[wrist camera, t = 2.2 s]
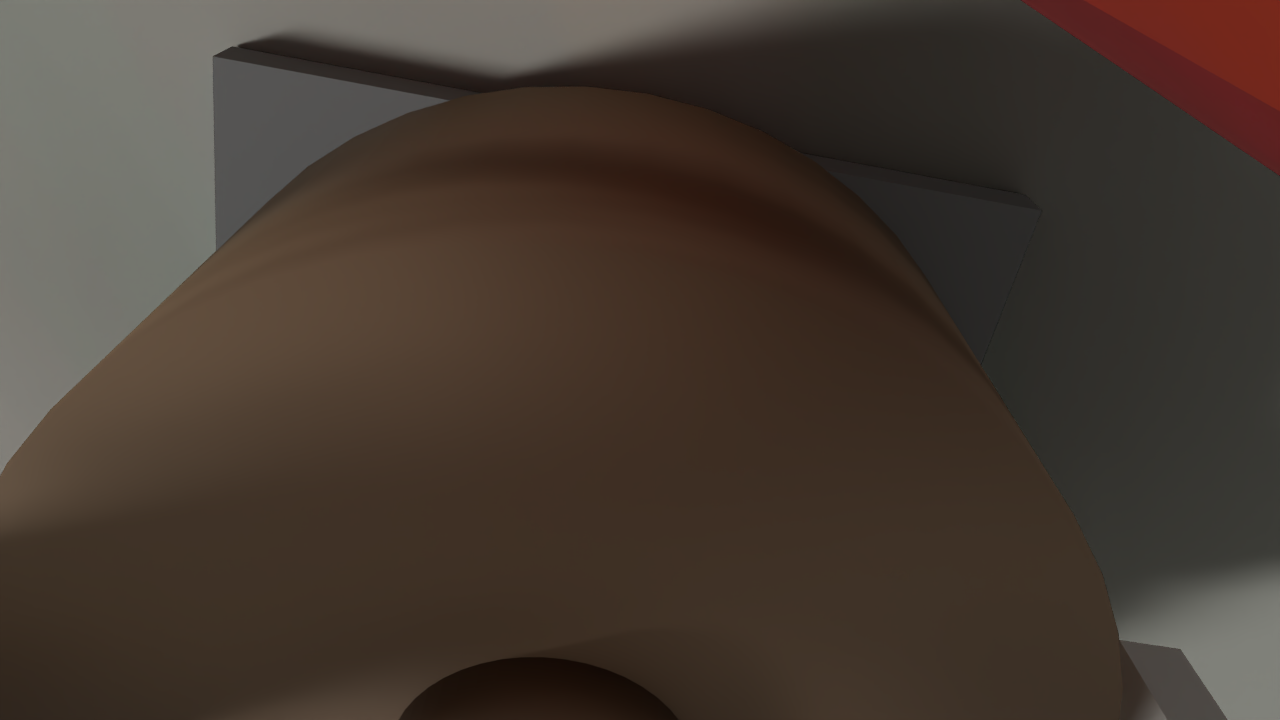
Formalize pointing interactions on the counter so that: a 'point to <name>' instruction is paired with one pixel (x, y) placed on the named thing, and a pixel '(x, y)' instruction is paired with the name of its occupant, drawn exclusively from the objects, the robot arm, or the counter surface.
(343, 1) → the counter surface
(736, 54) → the counter surface
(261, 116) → the mat
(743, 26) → the counter surface
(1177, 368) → the counter surface
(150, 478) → the lid
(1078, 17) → the paper cup
